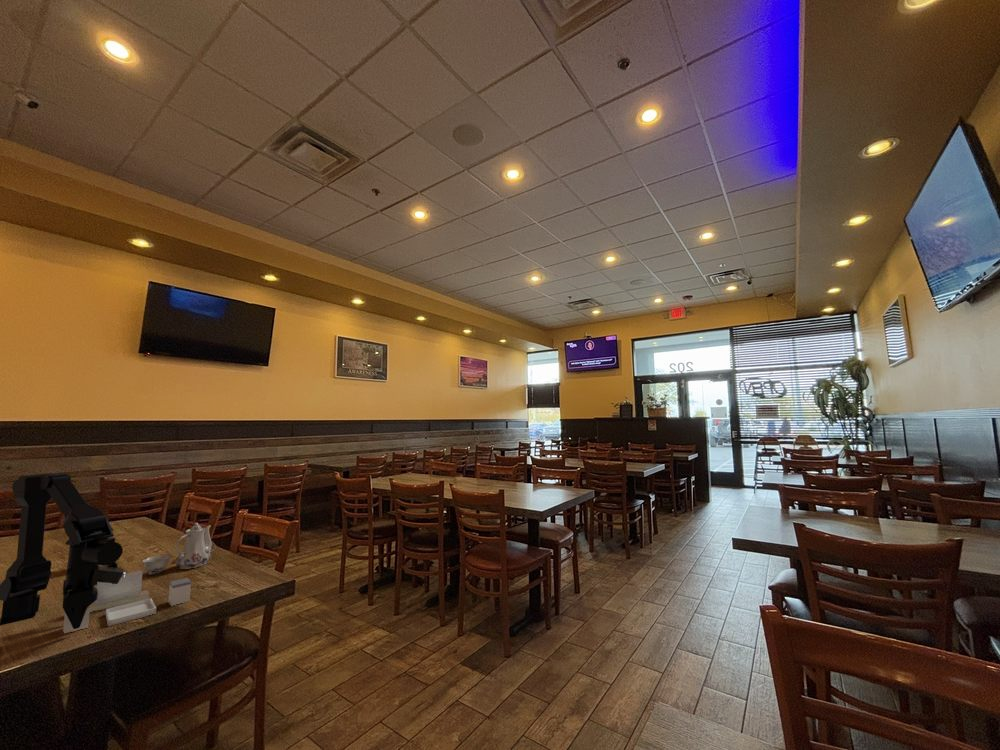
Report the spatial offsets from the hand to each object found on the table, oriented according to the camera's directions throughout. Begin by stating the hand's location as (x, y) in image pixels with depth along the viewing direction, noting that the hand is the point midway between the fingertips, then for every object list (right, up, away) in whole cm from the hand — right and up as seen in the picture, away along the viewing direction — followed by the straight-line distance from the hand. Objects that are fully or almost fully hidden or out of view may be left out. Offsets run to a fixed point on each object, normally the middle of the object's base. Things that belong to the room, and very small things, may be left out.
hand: (76, 622), depth 109 cm
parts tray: (+7, -2, +8) cm, 11 cm away
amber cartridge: (0, -2, 0) cm, 2 cm away
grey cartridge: (+15, -3, +16) cm, 22 cm away
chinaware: (-7, -7, +48) cm, 49 cm away
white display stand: (-3, -3, +15) cm, 15 cm away
